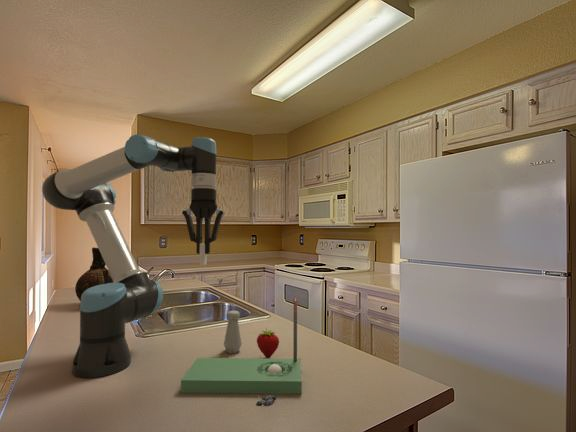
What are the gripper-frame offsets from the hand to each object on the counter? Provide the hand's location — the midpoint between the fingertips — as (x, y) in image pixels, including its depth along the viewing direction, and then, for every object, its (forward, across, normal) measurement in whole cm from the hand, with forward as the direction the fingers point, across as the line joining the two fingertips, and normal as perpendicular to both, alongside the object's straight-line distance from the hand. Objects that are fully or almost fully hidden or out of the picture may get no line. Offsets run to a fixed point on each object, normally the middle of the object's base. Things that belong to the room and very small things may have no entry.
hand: (203, 264), depth 103 cm
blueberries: (+30, +22, -23) cm, 43 cm away
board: (+29, +15, -12) cm, 35 cm away
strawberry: (+30, +20, +2) cm, 36 cm away
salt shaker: (+30, +8, +8) cm, 32 cm away
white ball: (+27, +23, -12) cm, 38 cm away
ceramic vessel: (+30, -72, +66) cm, 102 cm away
